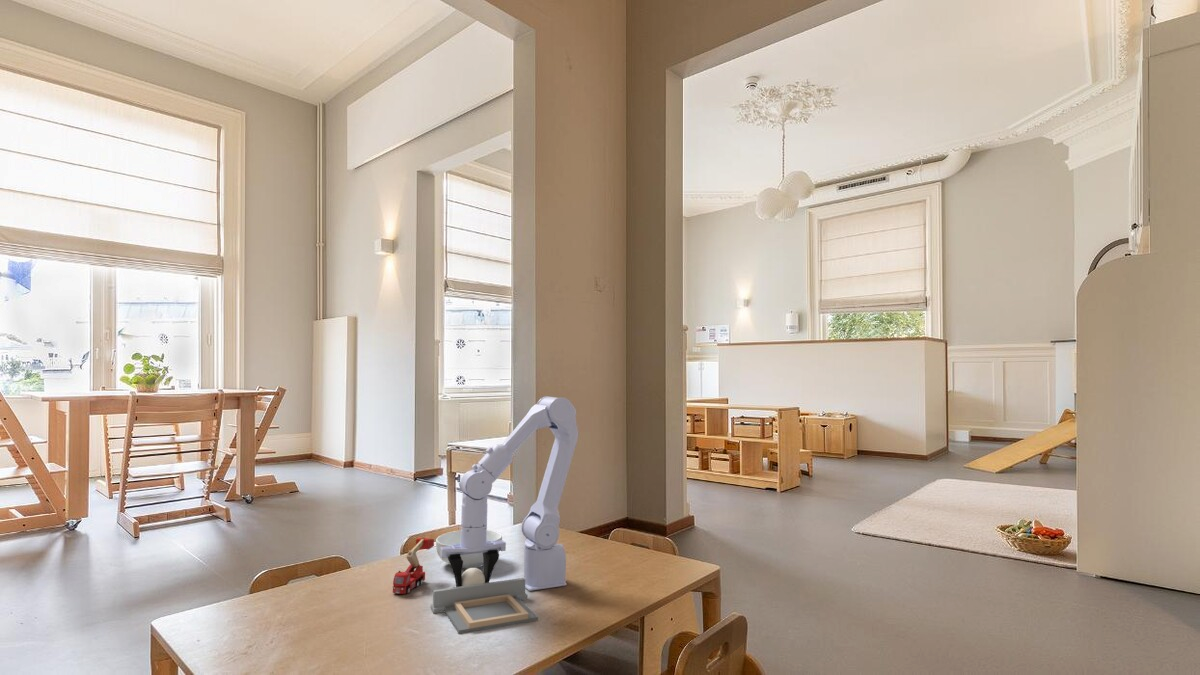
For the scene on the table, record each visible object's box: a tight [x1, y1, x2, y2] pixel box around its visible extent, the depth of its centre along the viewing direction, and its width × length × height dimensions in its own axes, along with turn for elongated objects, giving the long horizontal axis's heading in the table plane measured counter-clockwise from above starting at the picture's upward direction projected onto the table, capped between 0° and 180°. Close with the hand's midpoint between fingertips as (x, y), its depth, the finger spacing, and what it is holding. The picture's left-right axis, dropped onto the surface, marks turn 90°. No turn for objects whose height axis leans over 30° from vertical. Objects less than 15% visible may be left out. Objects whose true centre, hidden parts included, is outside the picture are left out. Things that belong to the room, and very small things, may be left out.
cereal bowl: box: [435, 529, 503, 570], centre depth 161 cm, size 17×17×7 cm
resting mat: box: [443, 594, 539, 635], centre depth 127 cm, size 16×12×2 cm
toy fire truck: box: [392, 537, 435, 595], centre depth 144 cm, size 3×14×10 cm, turn 168°
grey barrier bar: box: [430, 577, 529, 614], centre depth 133 cm, size 20×3×4 cm, turn 117°
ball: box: [462, 567, 485, 586], centre depth 139 cm, size 6×6×6 cm
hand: (472, 586), depth 139 cm, fingers closed on ball, 6 cm apart
